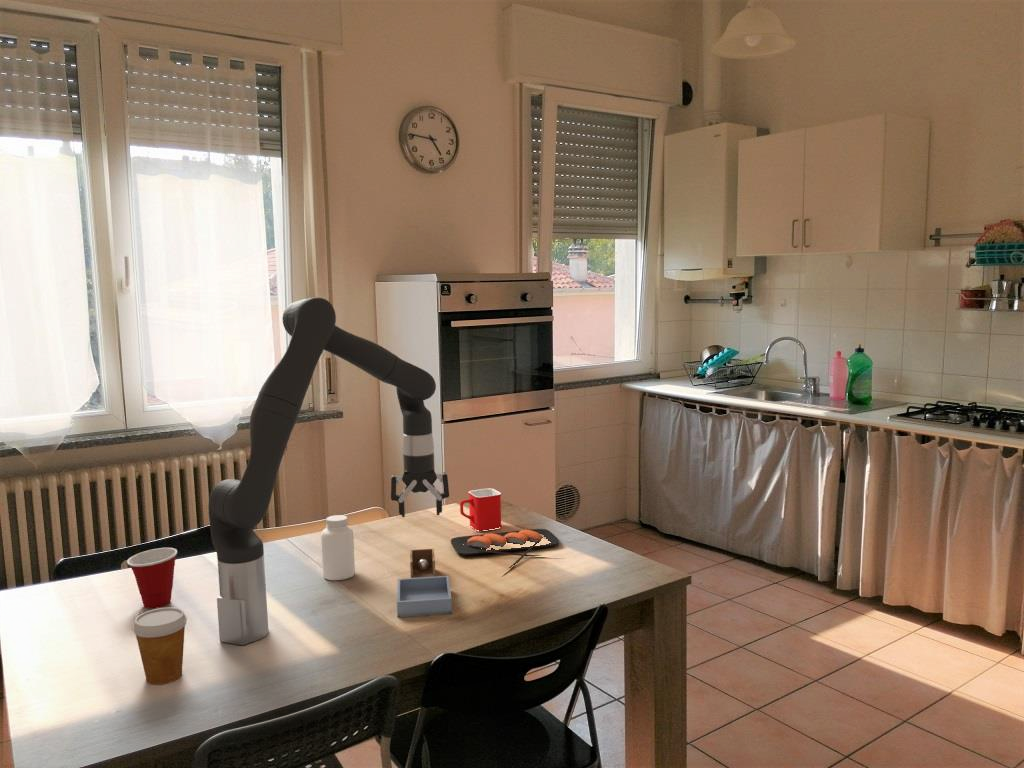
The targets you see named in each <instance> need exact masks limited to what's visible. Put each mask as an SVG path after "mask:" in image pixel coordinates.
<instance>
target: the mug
mask: <svg viewBox="0 0 1024 768" xmlns="http://www.w3.org/2000/svg"><path fill="white" fill-rule="evenodd" d="M467 493H468V497H469V498H468V499H463V500H461V501H460V502H459V511H460V514H461V516H462V517H464V518H466V519H468V520H469V527H470V526H472V527H473V528H474V529H476V530H479V531H483V530H489V529H495V528H499V527H501V528H502V493H501V492H500V491H498V490H496V489H495V488H490V487H489V488H479V489H473V490H469V491H468V492H467ZM465 503H468V507H469V515H468V514H466V513H465V512H464V504H465ZM474 529H473V530H474Z"/></svg>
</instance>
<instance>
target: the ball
mask: <svg viewBox="0 0 1024 768" xmlns="http://www.w3.org/2000/svg"><path fill="white" fill-rule="evenodd" d="M417 567H418V568H419V569H420V570H422V571H425V570H427V569H428V567H429V562H428V560H426V559H420V560H419V561H418V563H417Z"/></svg>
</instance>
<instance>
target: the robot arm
mask: <svg viewBox="0 0 1024 768" xmlns="http://www.w3.org/2000/svg"><path fill="white" fill-rule="evenodd" d="M336 318H337V316H336V310H335V308H334V306H333V304H332V302H330V301H329V300H327V299H326V298H322V297H319V296H318V297H314V296H313V297H308V298H303V299H299V300H296V301H293V302H292V303H290V304H289V305H287V307H285V309H284V310H283V313H282V325H283V328H284V330H285V331H286V333H287V334H288V335H289V336H290V337H291V338H290V340H289V344H288V346H287V347H286V351H285V353H284V354H283V356H282V357H281V359H280V360H279V362H278V363H277V365H276V366H275V367H274V368H273V370H272V371H271V373H270V374H269V375H268V376H267V378H266V379H265V382H263V384H262V386H261V388H260V390H259V392H258V395H257V397H256V400H255V402H254V406H253V408H252V410H251V413H250V418H249V439H250V441H249V442H250V451H249V452H250V454H249V458H248V462H247V464H246V468H245V470H244V472H243V475H242V476H241V479H240V480H239V479H233V478H227V479H224V480H221V481H220V482H218V483H216V484H215V486H214V487H213V488H212V490H211V492H210V494H209V497H208V519H209V528H210V529H209V530H210V536H211V543H212V545H213V548H214V550H215V552H216V557H217V558H216V559H217V569H218V570H217V571H218V587H219V596H218V597H217V598H216V604H217V606H216V607H217V620H218V622H217V623H218V635H219V642H221V643H222V642H223V643H227V644H233V645H240V646H245V645H246V644H249V643H252V642H256V641H259V640H262V639H263V638H265V637H266V636H268V634H269V617H268V616H269V615H268V603H267V601H268V600H267V584H266V569H265V566H266V565H265V553H264V551H265V550H264V543H263V540H262V539H261V537H259V536H258V535H257V533H256V532H255V531H254V529H253V528H254V527H256V526H258V525H259V524H260V523H261V521H263V519H264V518H265V516H266V514H267V512H268V509H269V507H270V506H269V505H270V503H271V499H272V497H273V492H274V488H275V485H276V480H277V477H278V472H279V469H280V466H281V463H282V461H283V457H284V455H285V451H286V449H287V446H288V443H289V440H290V437H291V434H292V431H294V427H295V425H296V422H297V420H298V417H299V414H300V412H301V409H302V406H303V403H304V400H305V397H306V395H307V391H308V389H309V386H310V384H311V381H312V378H313V376H314V372H315V370H316V366H317V365H318V362H319V360H320V358H321V356H322V355H323V352H324V351H326V352H328V353H330V354H332V355H334V356H336V357H339V358H340V359H342V360H344V361H346V362H348V363H349V364H351V365H352V366H355V367H357V368H358V369H360V370H362V371H364V372H365V373H367V374H369V375H370V376H371V377H374V378H376V379H377V380H379V381H381V383H384V384H387V385H391V386H394V387H395V388H396V395H397V399H398V404H399V407H400V412H401V414H402V428H403V429H402V431H403V432H402V433H403V434H402V435H403V437H402V458H403V460H402V461H403V474H402V475H396V474H392V475H391V480H390V482H391V483H390V500H391V501H393V502H394V501H395V502H397V503H398V514H399V516H401V518H405V517H406V516H405V515H406V511H405V507H406V506H405V499H406V498H407V497H408V496H409V494H410V493H411V492H412V493H414V494H415V493H420V492H421V493H427V492H428V491H429V492H430V493H431V494H432V495H433V496H434V497H435V498H436V499H435V503H436V505H435V507H436V509H435V511H436V516H440V514H441V513H443V500H444V499H447V498H449V497H450V490H449V479H448V478H449V477H448V473H447V472H446V471H444V472H442V473H436V472H435V445H434V444H435V443H434V436H433V421H432V420H433V419H432V418H433V417H432V413H431V411H430V410H429V409H428V408H427V407H426V406H425V401H427V400H428V399H430V398H431V397H433V395H434V394H435V393H436V389H437V385H436V383H437V382H436V381H435V379H434V377H433V376H432V374H430V373H429V372H428V371H426V370H424V369H423V368H420V367H419V366H417V365H414V364H413V363H411V362H407V361H406V360H403V359H401V358H400V357H399V356H398V355H396V354H395V353H393V352H391V351H390V350H388V349H387V348H384V347H383V346H382V345H380V344H378V343H376V342H373V341H371V340H369V339H366V338H363V337H361V336H358V335H355V334H354V333H351V332H348V331H346V330H344V329H343V328H341V327H339V326H337V325H336V321H337V319H336ZM437 479H438V480H439V482H440V483H442V485H443V486H442V488H443V491H442V492H440V491H439V490H438V488H437V487H436V486H435V484H434V483H435V482H436V481H437ZM401 481H402V482H403V484H404V485H405V486H404V488H403V490H402V491H401V492H400V494H397V486H399V485H400V482H401Z"/></svg>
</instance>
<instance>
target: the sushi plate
mask: <svg viewBox="0 0 1024 768" xmlns="http://www.w3.org/2000/svg"><path fill="white" fill-rule="evenodd" d="M540 534H542V535H544V537H546V539H548V541H550V542H551V543H549V544H546V545H540V546H535V545H536V544H537V543H539V542H540V541H541V539H542V538H543V537H542V536H541V535H540ZM526 541H530V542H535V544H534V545H533V546H530V547H521V548H511V549H499V550H495V549H493V548H491V550H487V551H486V549H487V548H489V547H490V545H495V546H501V547H503V546H504V545H505V544H506V542H507V543H513V544H520V545H523V544H525V543H526ZM450 544H451V546H452V548H453V549H454V550H455V552H456V553H458V555H463V556H469V555H470V556H471V555H481V554H498V555H499V554H501V555H509V556H510V555H511V556H520V557H519V558H518V559H517V560H516V561H515V562H513V563H512V564H511V565H510V566H509V567H508V568H511V567H512V566H513V565H515V564H516V563H517V564H518V563H519V562H520V561H521V560H522V559H523V558H525V557H528V556H541V555H538V554H528V553H529V552H530V551H531V550H532V549H536V548H547V547H554V546H557V545H558V546H559V544H560V540H559V538H558V537H557V536H556V535H555V534H554V533H553V532H551V531H550V530H548V529H545V528H533V529H521V530H511V531H504V532H501V531H500V532H494V533H493V532H492V533H490V532H489V533H481V534H474V535H463V536H457V537H453V538H451V539H450ZM463 544H464V545H463ZM481 548H482V549H481ZM519 550H526V551H525V552H524V553H516V552H515V553H512V552H511V551H519ZM517 564H516V565H517ZM516 565H515V566H516Z"/></svg>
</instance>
